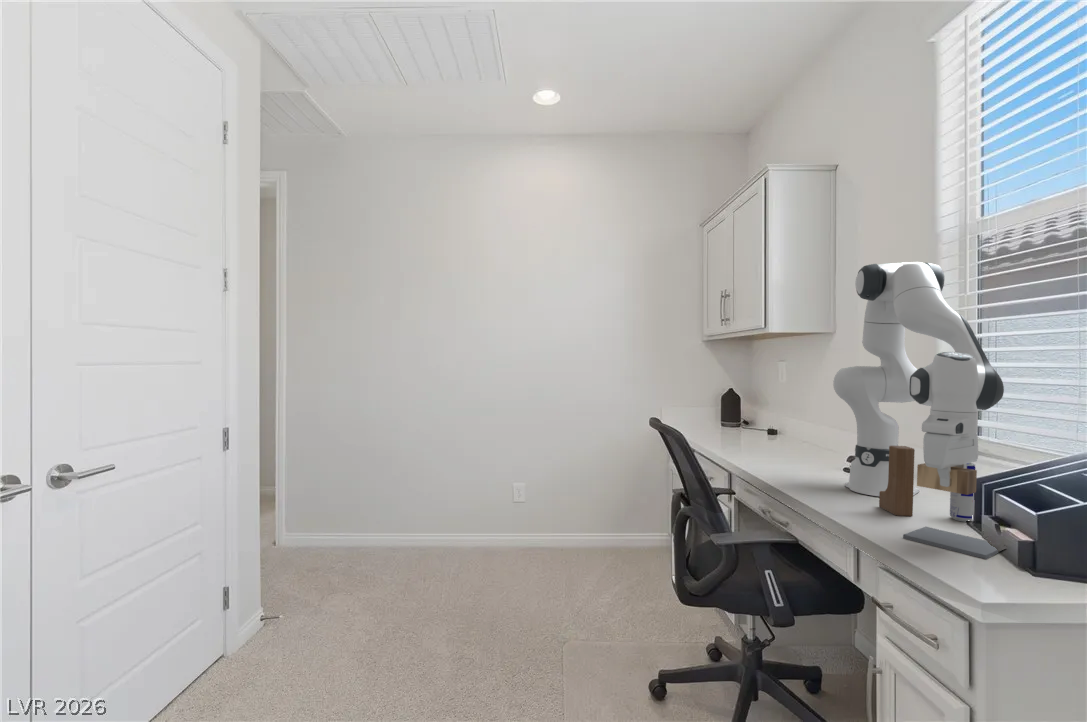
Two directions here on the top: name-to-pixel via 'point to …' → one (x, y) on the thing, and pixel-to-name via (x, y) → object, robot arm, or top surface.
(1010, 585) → the top surface
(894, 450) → the wooden block
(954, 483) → the oak block
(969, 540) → the desk mat
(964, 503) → the beverage can
